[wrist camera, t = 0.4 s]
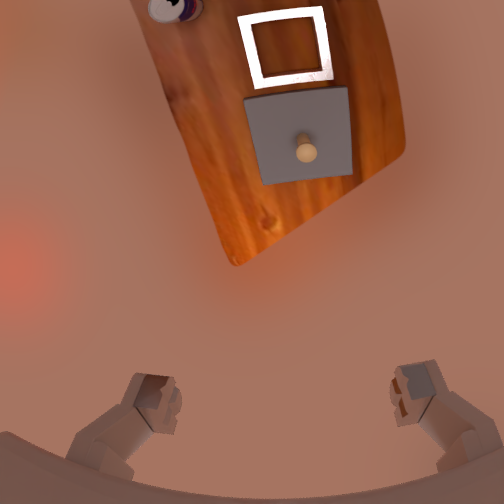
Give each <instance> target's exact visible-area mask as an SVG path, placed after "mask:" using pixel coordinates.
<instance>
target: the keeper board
mask: <svg viewBox="0 0 504 504" xmlns="http://www.w3.org/2000/svg"><path fill="white" fill-rule="evenodd" d="M243 102H244V106H245V110H246V114H247V118H248V122H249V127H250V131H251V135H252V139H253V144H254V148H255V152H256V156H257V161H258V165H259V169H260V174H261V178H262V183H263V185H268V184H275V183H283V182H290V181H298V180H306V179H314V178H322V177H331V176H341V175H351V174H352V149H351V130H350V115H349V102H348V91H347V87H346V86H331V87H320V88H310V89H301V90H293V91H285V92H278V93H271V94H265V95H259V96H253V97H248V98H244V99H243Z"/></svg>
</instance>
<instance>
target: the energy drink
mask: <svg viewBox="0 0 504 504" xmlns="http://www.w3.org/2000/svg"><path fill="white" fill-rule="evenodd" d="M202 10H203V2H202V0H150V2H149V5H148V12H149V14H150V16H151V17H152V18H153V19H154V20H155V21H157V22H159V23H166V24H167V23H175V22H184V21H191V20H194V19H196V18H197V17H198V16H199V15H200V14H201V13H202Z"/></svg>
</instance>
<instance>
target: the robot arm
mask: <svg viewBox="0 0 504 504" xmlns="http://www.w3.org/2000/svg"><path fill="white" fill-rule="evenodd" d="M394 373H395V378H394V379H393V380H392V381H391V384H390V399H391V402H392V404H393V405H395V406H396V407H397V408H396V410H395V412H394V414H395V418H396V422H397V426H398V427H400V426H405V425H411V424H415V423H418V425H420V427H421V428H422V429H423V430H424V431H425V432H426V433H427V434H428V435H430V436H431V438H432V439H433V440H434V441H435V442H436V443H438V445H439V446H440V447H441V448H443V450H444V451H445V452H446V453H445V454H444V455H443V456H442V457H441V458H440V459H439V460H438V462H437V463H436V465H437V470H438V473H437V474H434V475H431V476H428V477H424V478H421V479H417V480H413V481H410V482H406V483H402V484H398V485H394V486H389V487H384V488H379V489H374V490H368V491H363V492H356V493H350V494H342V495H334V496H324V497H312V498H296V499H295V498H294V499H252V498H233V497H221V496H210V495H203V494H195V493H188V492H182V491H176V490H171V489H165V488H160V487H156V486H151V485H147V484H143V483H138V482H134V481H132V478H133V475H134V470H133V469H132V468H131V467H130V466H129V465H128V464H127V463H126V462H125V461H126V460H127V459H128V458H129V457H130V456H131V455H132V454H133V453H134V452H135V451H136V450H137V449H138V448H139V447H140V446H141V445H142V444H143V443H144V442H145V441H147V440H148V438H150V437H151V435H153V432H157V433H164V434H165V433H166V434H174V431H175V427H176V424H177V419H176V417H175V415H176V414H177V413H179V412H180V409H181V405H182V397H181V393H180V390H179V389H178V388H176V387H175V383H176V382H175V380H174V378H173V377H169V376H160V375H151V374H142V373H135V374H134V375H133V377H132V379H131V381H130V383H129V386H128V388H127V390H126V392H125V395H124V397H123V399H122V401H121V404H117V405H115V406H114V407H112V408H111V409H110V410H108V411H107V412H106V413H104V414H103V415H101V416H100V417H99V418H97V419H96V420H95V421H93V422H92V423H91V424H89V425H88V426H87V427H85V428H83V429H82V430H81V431H79V432H78V433H76V435H75V438H74V440H73V442H72V444H71V447H70V449H69V451H68V453H67V455H66V458H63V457H60V456H58V455H55V454H53V453H51V452H49V451H46V450H44V449H42V448H40V447H38V446H35V445H34V444H32V443H30V442H28V441H26V440H24V439H22V438H20V437H18V436H16V435H14V434H13V433H11V432H8V431H5V432H1V433H0V504H504V446H503V443H502V441H501V438H500V435H499V433H498V430H497V428H496V425H495V422H494V420H493V419H491V418H490V417H489V416H487V415H486V414H484V413H483V412H481V411H480V410H479V409H477V408H476V407H474V406H473V405H472V404H470V403H469V402H467V401H466V400H464V399H463V398H462V397H460V396H459V395H457V394H456V393H454V392H453V391H451V392H449V390H448V387H447V385H446V383H445V380H444V378H443V376H442V373H441V371H440V369H439V367H438V365H437V363H436V361H435V360H429V361H424V362H417V363H412V364H407V365H402V366H398V367H397V368H396V369H395V372H394Z"/></svg>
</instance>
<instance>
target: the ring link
mask: <svg viewBox="0 0 504 504" xmlns="http://www.w3.org/2000/svg"><path fill="white" fill-rule="evenodd" d="M307 16H311V20H312V25H313V31H314V36H315V42H316V48H317V54H318V60H319V67H320V68H316V69H306V70H297V71H289V72H282V73H275V74H268V75H263V74H262V69H261V65H260V60H259V56H258V52H257V47H256V43H255V39H254V35H253V31H252V26H251V24H253V23H259V22H265V21H272V20H279V19H287V18H296V17H307ZM238 21H239V25H240V29H241V33H242V37H243V41H244V45H245V49H246V53H247V58H248V62H249V66H250V70H251V74H252V79H253V83H254V87H255V89H259V88H265V87H271V86H278V85H285V84H293V83H301V82H310V81H320V80H332V79H333V71H332V64H331V57H330V50H329V44H328V37H327V31H326V26H325V20H324V15H323V9H322V6H320V7H306V8H295V9H286V10H278V11H270V12H264V13H258V14H252V15H246V16H241V17H238Z"/></svg>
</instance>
